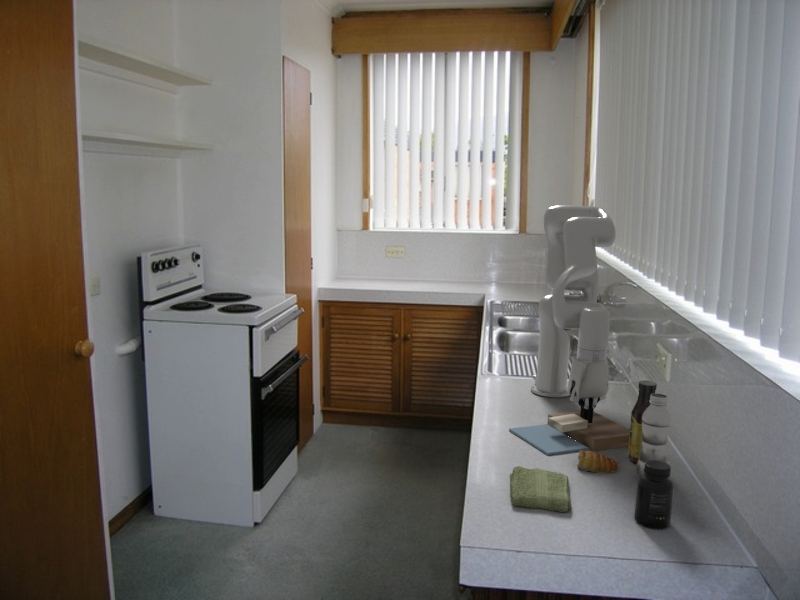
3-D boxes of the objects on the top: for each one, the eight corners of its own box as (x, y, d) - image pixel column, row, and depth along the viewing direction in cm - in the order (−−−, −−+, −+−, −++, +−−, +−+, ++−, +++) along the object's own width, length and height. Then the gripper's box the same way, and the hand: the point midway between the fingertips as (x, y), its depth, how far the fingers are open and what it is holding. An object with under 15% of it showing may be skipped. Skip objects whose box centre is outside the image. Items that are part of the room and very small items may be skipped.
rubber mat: (508, 430, 190) (509, 428, 190) (546, 426, 194) (546, 424, 194) (547, 455, 173) (547, 453, 173) (587, 449, 178) (587, 447, 178)
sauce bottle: (633, 453, 177) (640, 376, 173) (658, 460, 173) (666, 382, 169) (622, 461, 172) (630, 382, 168) (648, 468, 168) (656, 387, 164)
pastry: (617, 465, 169) (618, 450, 169) (618, 477, 163) (620, 461, 162) (576, 460, 171) (577, 445, 171) (576, 471, 165) (578, 456, 164)
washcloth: (568, 481, 160) (569, 467, 159) (571, 516, 143) (573, 501, 142) (509, 474, 162) (510, 461, 162) (506, 508, 145) (507, 494, 145)
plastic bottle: (629, 479, 161) (638, 395, 157) (643, 472, 165) (652, 389, 162) (656, 489, 156) (666, 402, 153) (670, 481, 161) (679, 396, 158)
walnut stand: (547, 424, 196) (548, 414, 195) (589, 419, 201) (589, 409, 201) (593, 450, 178) (594, 439, 177) (637, 444, 183) (638, 433, 183)
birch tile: (548, 424, 187) (548, 417, 187) (573, 420, 190) (573, 413, 190) (561, 432, 182) (562, 425, 181) (587, 428, 185) (587, 420, 184)
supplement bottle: (676, 522, 141) (682, 465, 139) (660, 533, 136) (666, 474, 134) (643, 510, 146) (649, 455, 144) (627, 520, 141) (633, 463, 139)
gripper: (605, 349, 191) (599, 414, 194) (559, 352, 185) (554, 420, 188) (624, 356, 184) (617, 423, 187) (577, 359, 178) (571, 429, 182)
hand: (586, 421), depth 188 cm, fingers closed
